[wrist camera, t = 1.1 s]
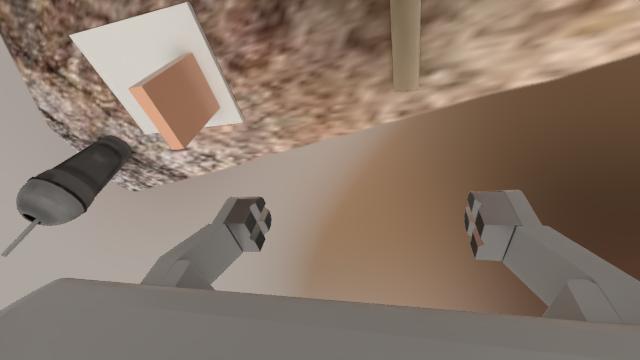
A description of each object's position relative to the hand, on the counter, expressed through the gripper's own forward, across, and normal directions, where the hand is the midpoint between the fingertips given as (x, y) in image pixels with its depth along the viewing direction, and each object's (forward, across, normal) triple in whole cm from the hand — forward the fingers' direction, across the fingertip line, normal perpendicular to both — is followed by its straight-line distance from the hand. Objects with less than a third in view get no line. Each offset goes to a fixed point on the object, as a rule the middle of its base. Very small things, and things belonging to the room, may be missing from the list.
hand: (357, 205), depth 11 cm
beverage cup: (+23, +43, +8) cm, 49 cm away
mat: (+22, +26, -1) cm, 35 cm away
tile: (+17, +21, 0) cm, 27 cm away
